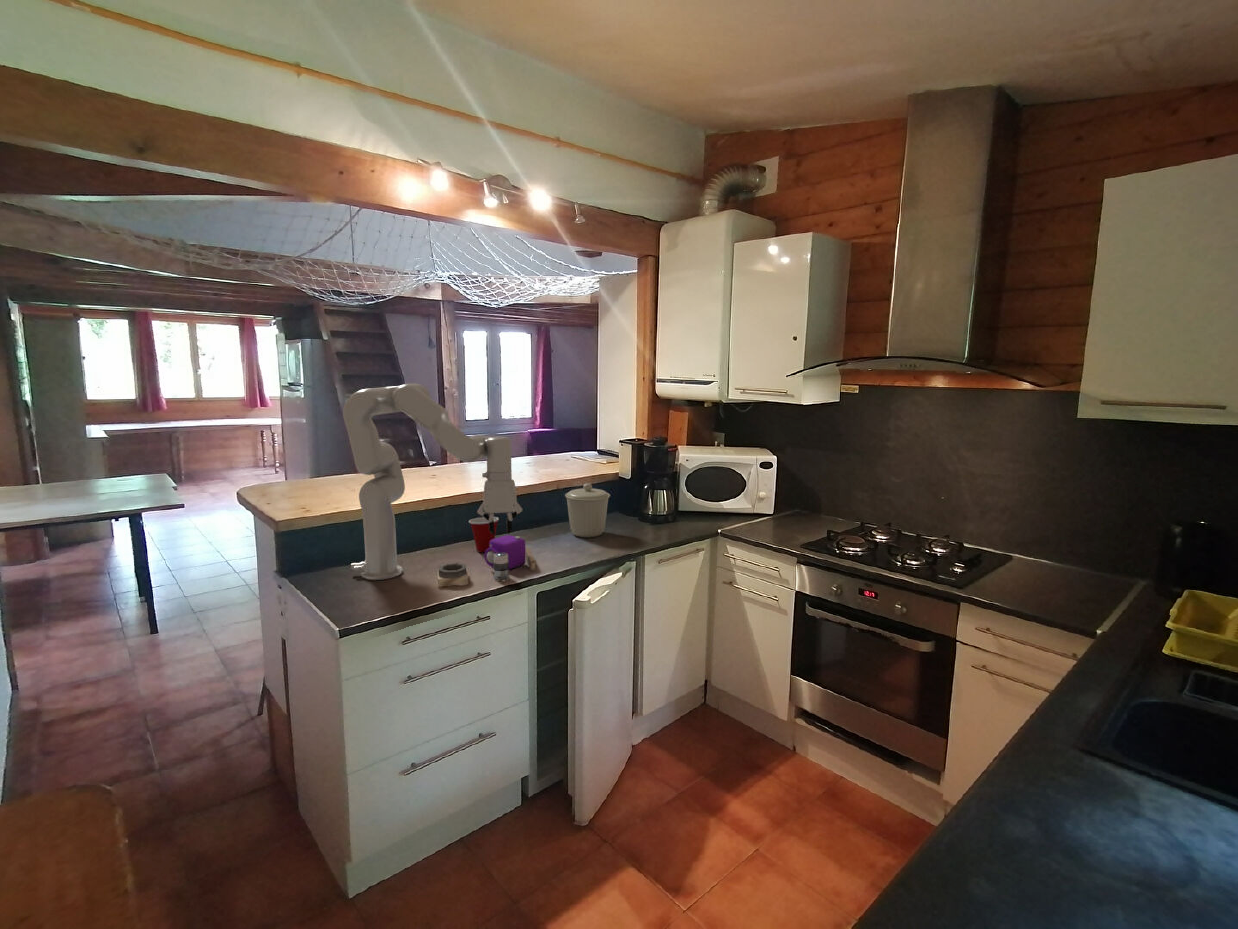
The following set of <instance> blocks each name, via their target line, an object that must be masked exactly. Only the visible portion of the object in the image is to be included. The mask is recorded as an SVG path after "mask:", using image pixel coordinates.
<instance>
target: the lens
mask: <svg viewBox="0 0 1238 929" xmlns="http://www.w3.org/2000/svg"><path fill="white" fill-rule="evenodd" d="M492 568H493V580H494V579H495V580H494V581H496V580H499V581H498V582H504V581H503V580H505V581H507V579H508V580H509V570H510V569H509V561H508V554H507V553H496V554H494V562H493V567H492ZM508 569H509V570H508Z"/></svg>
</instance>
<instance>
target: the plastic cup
mask: <svg viewBox="0 0 1238 929" xmlns="http://www.w3.org/2000/svg"><path fill="white" fill-rule="evenodd" d="M499 520H500V519H499V517H497V516H493V521H494V535H492V533H491V531H489V521H488V520H487V519H486V518H484V517H483V516H482V517H476V518H472V519H469V520H468V523H469V524H470V527H471V530H472V534H473V539H474V543H475V549H476V551H477V552H478V553H482V552H485V551H486V549H488V548H489V543H490V541H491V540H492V539H495V538H496V534H497V526H498V522H499Z"/></svg>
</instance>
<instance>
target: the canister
mask: <svg viewBox="0 0 1238 929" xmlns="http://www.w3.org/2000/svg"><path fill="white" fill-rule="evenodd" d="M564 495H565V496H564V497H565V498H566V501H567V502H566V505H567V514H568V519H569V528H570V532H571V533H572V534H573V535H574V536H576V537H579V538H594V537H598V536H599V537H600V536H601V535H602V534H603V533H604V531H605V526H606V520H607V513H608V512H607V511H608V503H609V498H610V497H611V494H610V493H608V492H607V491H606V490H603V489H598V488H593V485H592V484H591V483H584V484H583V487H582V488H576V489H571V490H570V491H568V492H567V493H565V494H564Z"/></svg>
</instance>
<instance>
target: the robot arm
mask: <svg viewBox="0 0 1238 929" xmlns="http://www.w3.org/2000/svg"><path fill="white" fill-rule="evenodd" d="M342 412H343V413H342V414H343V420H344V424H345V427H346V430H347V434H348V438H349V442H350V447H351V450H352V455H353V460H354V463H355V467H356V469H357V471H359V473H360V474H361V475H362V474H363V475H365V476H370V475H371V476H372V475H373V476H374V478H371V479H369V480H367V481H366V482H365V483H363V485H362V486H361V487H360V489H359V492H358V499H359V504H360V509H361V514H362V522H363V537H364V554H365V556H364V557H365V559H364V561H361V562H352V563H351V564H350V569H351V570H353V571H354V572H355V571H360V576H361V578H363V579H364V580H370V581H371V580H372V581H378V580H379V581H380V580H388V579H393V578H395V577H398V576H399V575H401V574H402V573H403V567H402V566H400V565H399V564H398V555H397V554H398V553H397V552H398V551H397V534H396V529H397V528H396V518H395V517H396V516H395V513H394V510H393V507H392V504H393V503H394V502H397V501H398V500H400V499H401V498H402V497H403V495H404V494H405V488H406V487H405V486H406V485H405V480H404V475H403V470H402V466H401V464H400V462H401V461H400V459H399V455H398V453H397V451H396V449H395V448H394V447H393V446H392V445H391V443H388V442H385V441H380V437H379V432H378V429H377V426H376V424H375V423H374V422H373V419H372V418H373V417H375V416H378V415H379V416H380V415H384V414H385V415H387V414H392V413H394V414H395V413H401V412H403V413H404V414H405V415H406V416H407V417H409V418H411V419H412V420H413V421H415V422H416V423H417V424H418V425H419V426H421V427H423V428H424V429H425V430H427V431H428V432H429V433H430V435H431V436H432V438H433V439H434V440H435V441H436V442H437V444H439V446H441V448H443V450H445V451H447V452H448V453H449V454H450V455H452V456H454V457H455V458H457V459H458V460H459V461H461V462H463V463H468V464H471V463H475V462H477V461H479V460H481V459H485V458H486V471H485V472H484V473H482V475H481V476H482V478H485V481H484V486H483V500H482V503H481V504H480V506H479V508H478V509H477V512H476V513H477V514H478V515H480V516H482V517H484V518H486V519H487V520H488V521H489V531H491V533H492V535H494V521H493V517H494V515H495V514H506V516H507V518H506V520H505V524H506V526H505V528H506V533H507V535H508V534H509V535H510V533H511V532H510V531H512V528H513V526H512V522H513V520H514V519H515V518H516V517H517V515H518V514H520V513H521V512H523V508H522V506H521V505H520V504H519V503H518V501H517V500H518V499H517V491H516V490H517V488H516V484H515V480H514V479H512V440H511V438H510V437H508V436H487V435H482V434H475V435H471V436H468V435H467V434H465V433H464V432H462V431H461V430H460V429H459V428H457V427H456V426H455V425H454V424H453V422H452V421H451V420H450V416H449V412H448V410H447V409H446V408H445V407H443V406H442V405H441V404H439V403H438V402H436V401H435V400H434V399H432V398H431V394H430V391H429V389H428V388H427V387H425V386H424V385H423V384H420V383H404V384H401V385H396V386H383V387H372V388H370V387H369V388H364V389H363V388H362V389H360V390H358V391H355V392H354V393H352V394H351V395H350V396H349V397H348V398H347V399H346V400H345V403H344V406H343V410H342Z"/></svg>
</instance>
